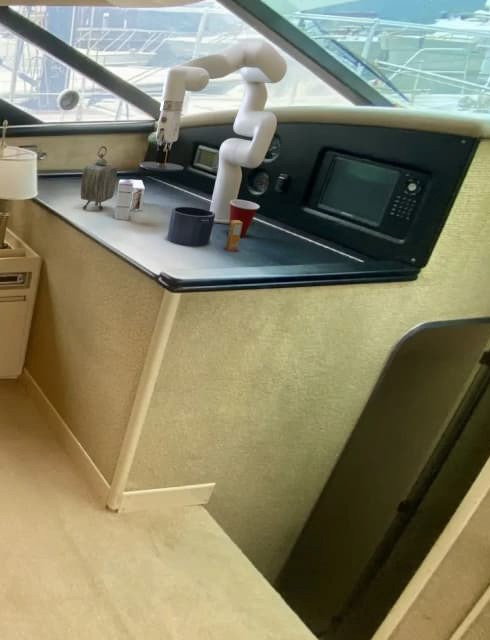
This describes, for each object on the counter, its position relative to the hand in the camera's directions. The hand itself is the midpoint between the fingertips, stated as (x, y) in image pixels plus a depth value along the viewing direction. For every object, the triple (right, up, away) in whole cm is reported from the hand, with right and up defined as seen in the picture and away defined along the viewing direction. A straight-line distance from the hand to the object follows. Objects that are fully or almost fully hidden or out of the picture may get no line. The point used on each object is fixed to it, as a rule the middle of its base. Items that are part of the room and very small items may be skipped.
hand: (161, 162), depth 216 cm
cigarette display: (0, -3, +47) cm, 47 cm away
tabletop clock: (-18, -6, +38) cm, 43 cm away
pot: (+10, -28, +1) cm, 30 cm away
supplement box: (+22, -33, -6) cm, 40 cm away
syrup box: (-9, -13, +27) cm, 31 cm away
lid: (0, -2, +1) cm, 2 cm away
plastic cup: (+32, -24, +12) cm, 42 cm away
